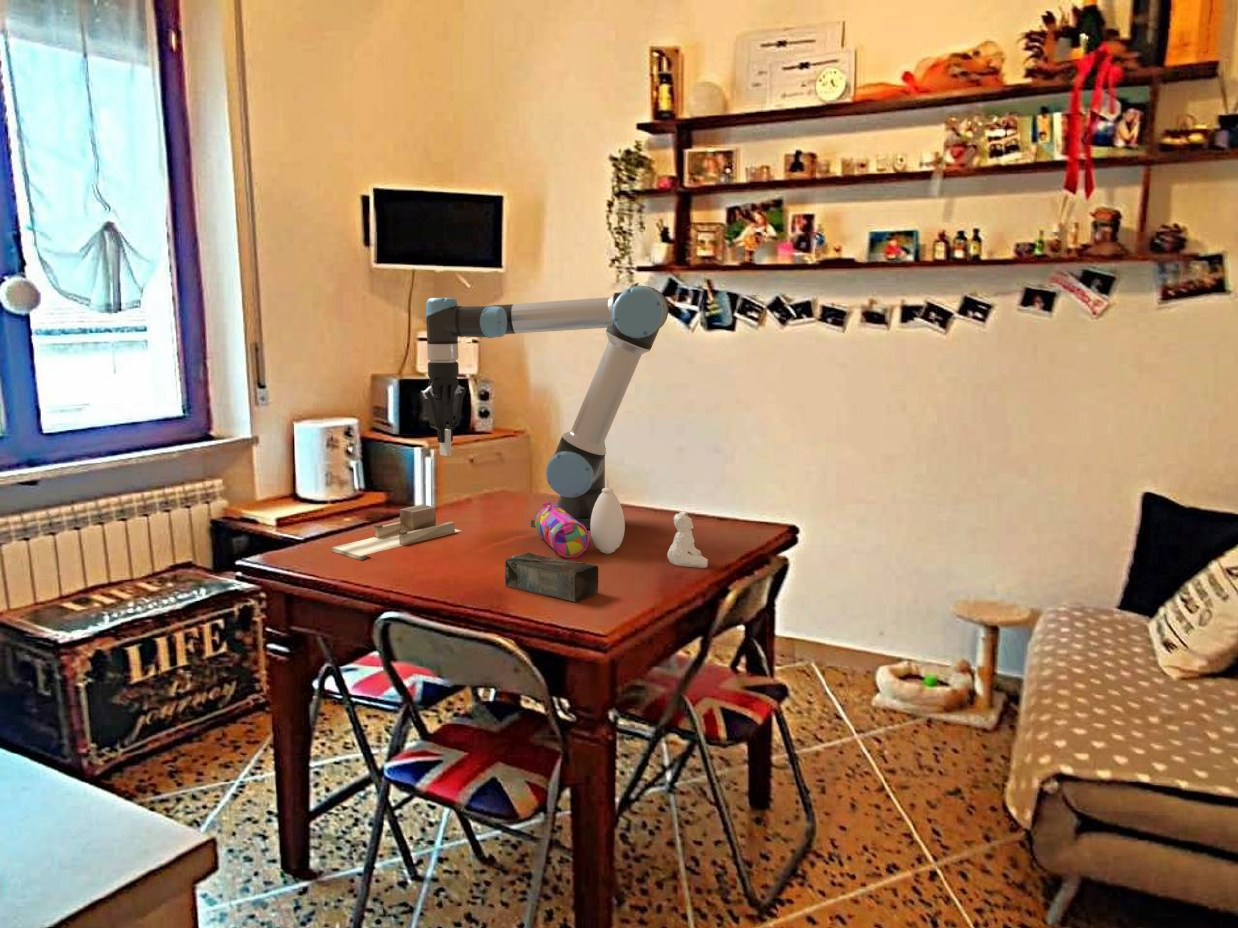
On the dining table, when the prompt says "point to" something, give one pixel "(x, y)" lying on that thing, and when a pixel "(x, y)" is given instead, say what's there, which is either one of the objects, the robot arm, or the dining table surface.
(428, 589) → the dining table surface
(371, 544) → the railed wooden board
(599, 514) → the sauce bottle
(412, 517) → the walnut block
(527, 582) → the dark grey block
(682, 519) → the white creature statuette
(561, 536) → the pencil case
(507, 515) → the dining table surface
